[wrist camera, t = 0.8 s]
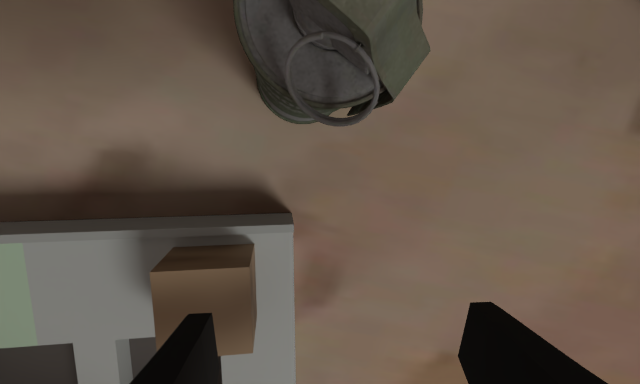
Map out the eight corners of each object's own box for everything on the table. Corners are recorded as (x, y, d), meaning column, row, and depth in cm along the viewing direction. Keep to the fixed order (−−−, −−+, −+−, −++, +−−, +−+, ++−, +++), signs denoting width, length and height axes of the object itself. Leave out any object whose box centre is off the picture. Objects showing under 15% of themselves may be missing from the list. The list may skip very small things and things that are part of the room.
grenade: (238, 87, 22) (158, -18, 7) (292, 11, 21) (325, -265, 7) (315, 145, 23) (383, 159, 8) (367, 74, 23) (533, -43, 8)
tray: (294, 401, 26) (297, 437, 23) (-22, 433, 23) (-69, 479, 20) (291, 212, 24) (293, 224, 20) (-62, 224, 21) (-122, 239, 18)
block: (257, 315, 22) (253, 353, 18) (179, 321, 22) (157, 361, 18) (254, 243, 22) (249, 267, 18) (173, 247, 21) (149, 272, 17)
